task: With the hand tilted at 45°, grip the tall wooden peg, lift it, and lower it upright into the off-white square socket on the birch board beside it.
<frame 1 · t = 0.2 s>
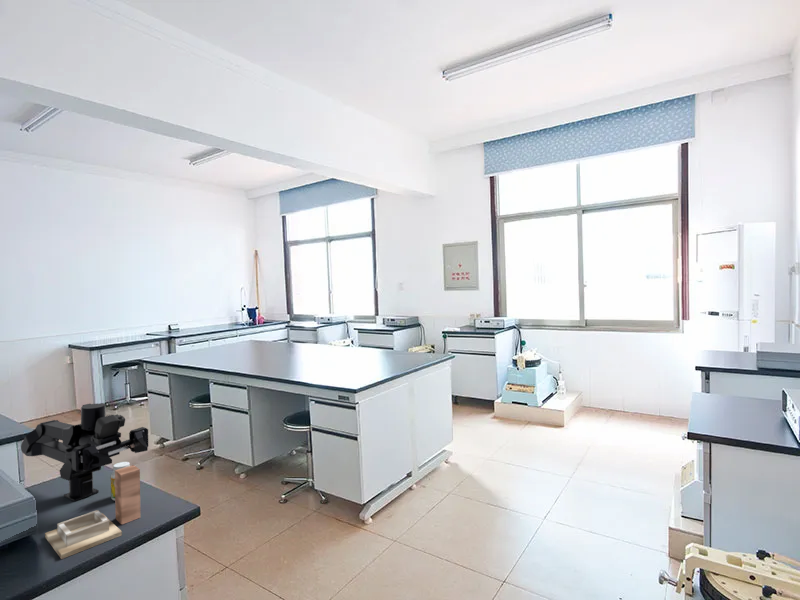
hand: (129, 454, 114), 16 cm above the lab bench, tool horizontal, fingers open, 9 cm apart
supplement bottle: (122, 497, 125), on the lab bench
socket holder: (83, 536, 105), on the lab bench
peg: (128, 518, 113), on the lab bench
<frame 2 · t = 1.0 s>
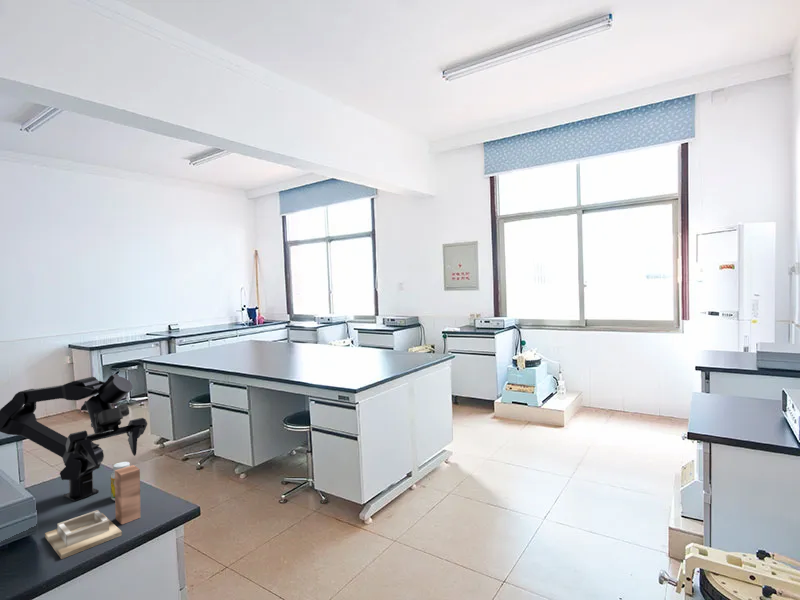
hand: (116, 460, 118), 14 cm above the lab bench, tool tilted 45°, fingers open, 9 cm apart
nothing on the lab bench moved.
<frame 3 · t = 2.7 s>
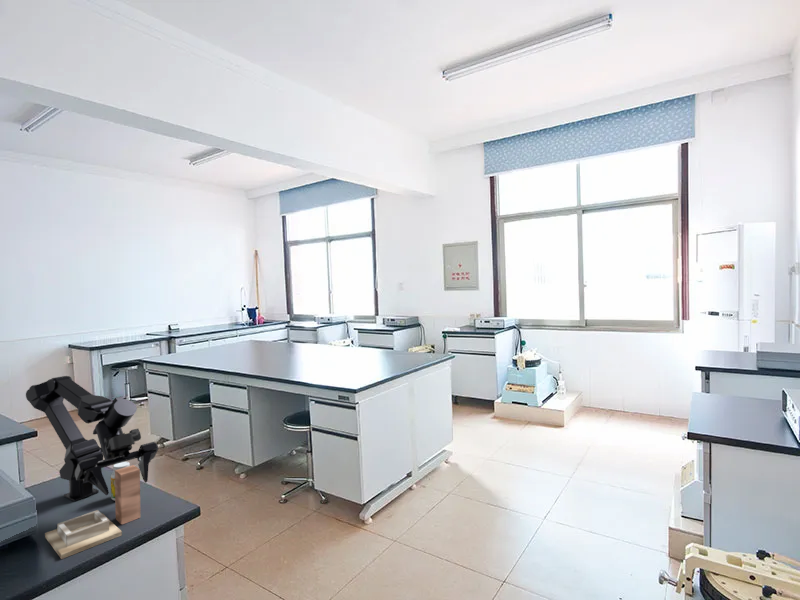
hand: (127, 487, 114), 8 cm above the lab bench, tool tilted 45°, fingers open, 9 cm apart
nothing on the lab bench moved.
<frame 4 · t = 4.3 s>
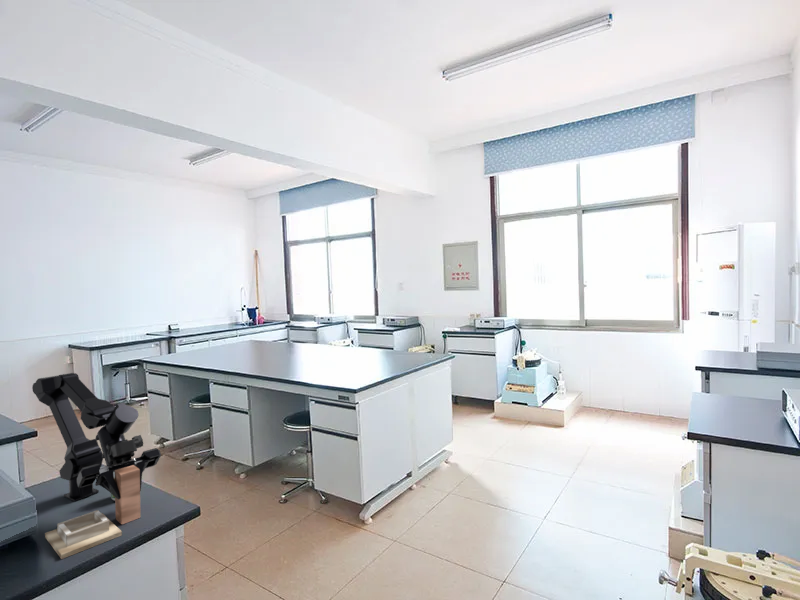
hand: (129, 495, 112), 7 cm above the lab bench, tool tilted 45°, fingers closed on peg, 4 cm apart
peg: (128, 518, 113), on the lab bench, touching gripper
everything else where it was.
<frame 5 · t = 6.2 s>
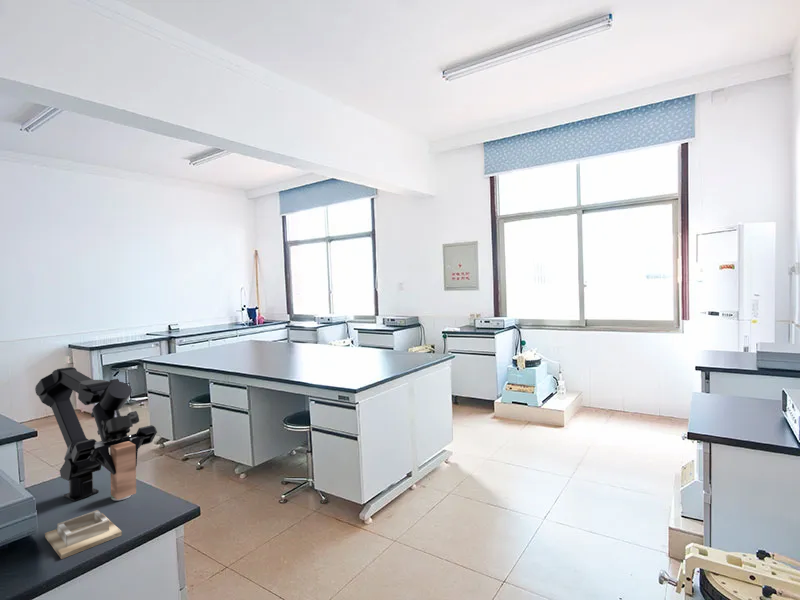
hand: (125, 470, 112), 13 cm above the lab bench, tool tilted 45°, fingers closed on peg, 4 cm apart
peg: (123, 494, 113), point 7 cm above the lab bench, touching gripper
everything else where it was.
when the fingers open (9 cm above the lab bench, at t = 8.3 s): peg drops 1 cm, resting on socket holder.
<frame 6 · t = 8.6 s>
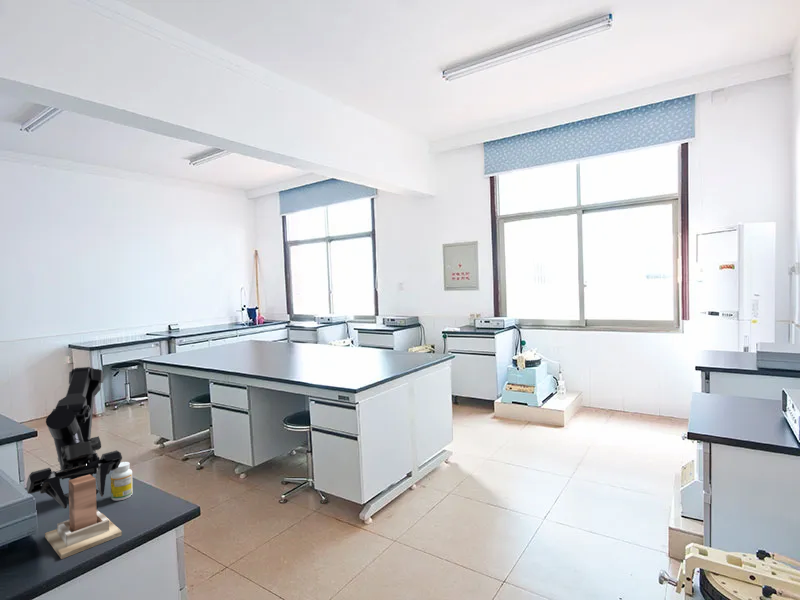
hand: (84, 501, 104), 9 cm above the lab bench, tool tilted 45°, fingers open, 7 cm apart
peg: (83, 532, 105), point 1 cm above the lab bench, touching socket holder
everything else where it was.
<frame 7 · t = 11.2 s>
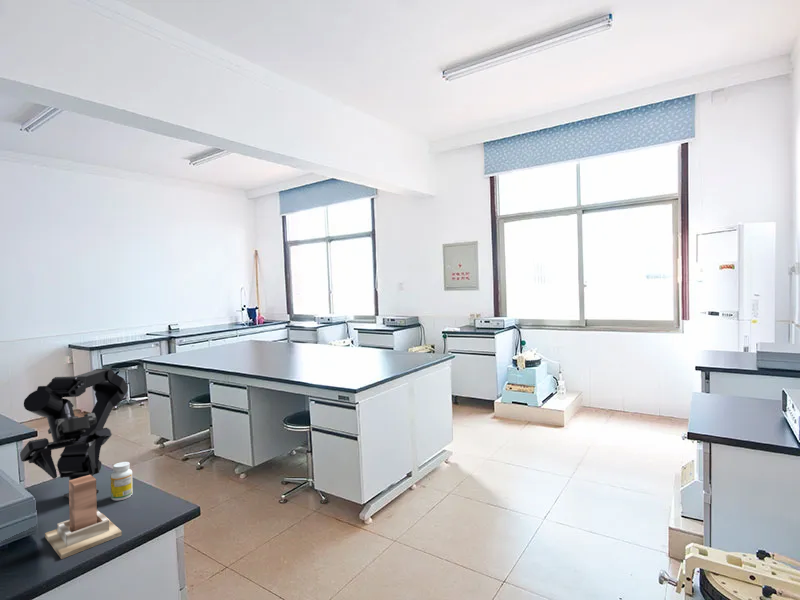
hand: (76, 472, 110), 13 cm above the lab bench, tool tilted 40°, fingers open, 9 cm apart
nothing on the lab bench moved.
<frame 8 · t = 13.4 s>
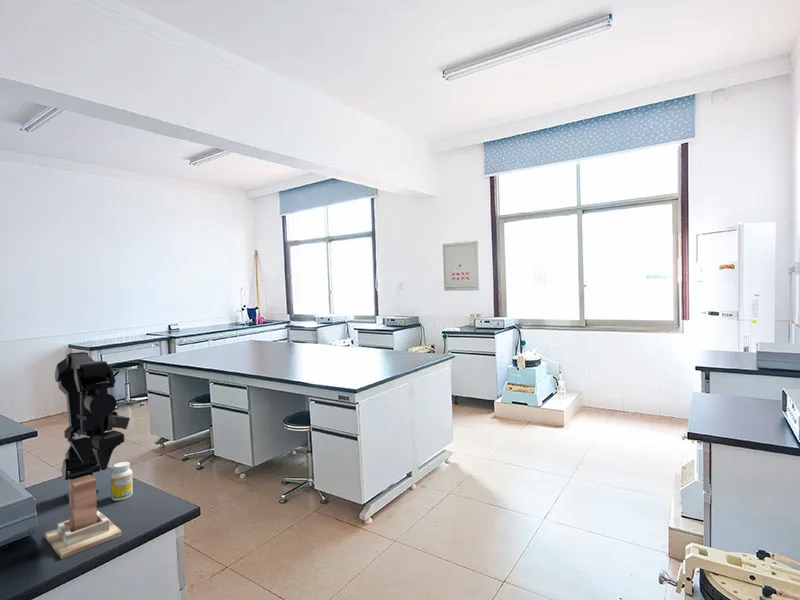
hand: (94, 466, 115), 13 cm above the lab bench, tool pointing down, fingers open, 9 cm apart
nothing on the lab bench moved.
at the end: peg 0.1 cm off-centre on the socket holder, point 1.0 cm above the socket holder's base; peg tilted 0°; the gripper is holding nothing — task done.
